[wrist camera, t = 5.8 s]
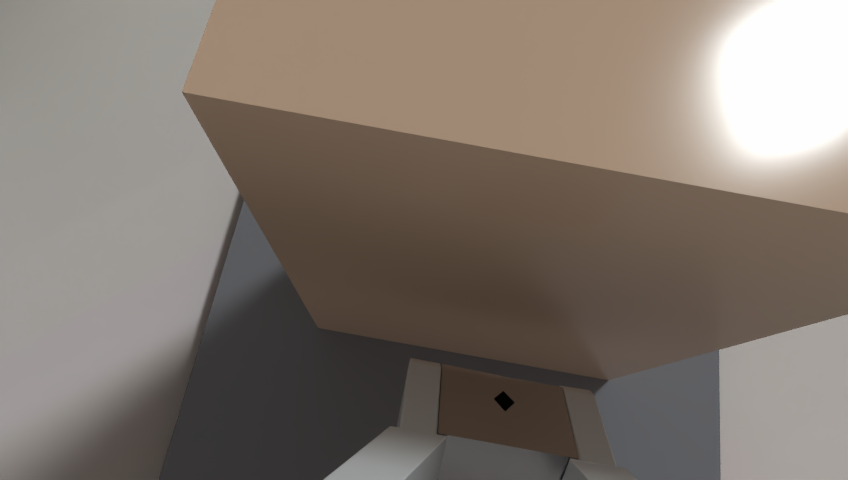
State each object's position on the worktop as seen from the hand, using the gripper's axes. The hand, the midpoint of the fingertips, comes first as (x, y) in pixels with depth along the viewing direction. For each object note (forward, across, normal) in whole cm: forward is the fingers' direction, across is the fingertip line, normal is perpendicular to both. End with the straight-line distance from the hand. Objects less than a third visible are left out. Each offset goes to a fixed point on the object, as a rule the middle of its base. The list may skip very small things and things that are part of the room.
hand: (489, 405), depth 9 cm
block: (+6, 0, +2) cm, 7 cm away
